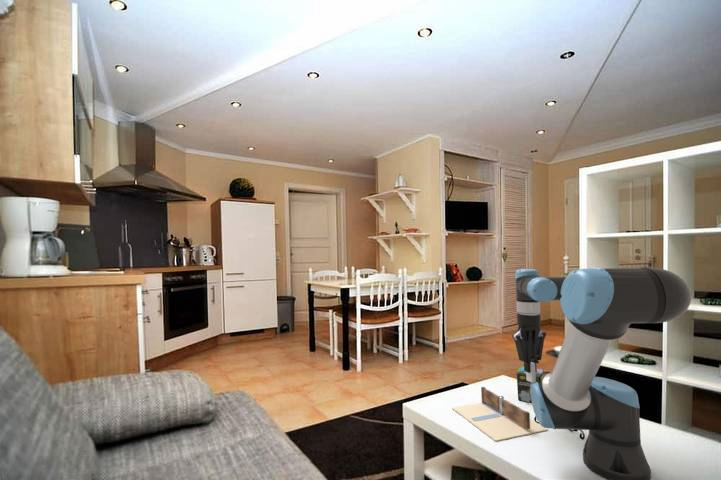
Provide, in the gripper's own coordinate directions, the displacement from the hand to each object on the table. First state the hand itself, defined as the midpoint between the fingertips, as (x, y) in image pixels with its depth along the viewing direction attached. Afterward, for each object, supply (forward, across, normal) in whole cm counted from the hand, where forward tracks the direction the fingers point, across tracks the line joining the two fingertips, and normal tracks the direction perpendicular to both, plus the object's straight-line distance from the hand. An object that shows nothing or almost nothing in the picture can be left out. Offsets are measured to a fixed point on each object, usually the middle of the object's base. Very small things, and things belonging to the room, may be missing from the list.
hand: (531, 381), depth 122 cm
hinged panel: (+13, +6, -1) cm, 15 cm away
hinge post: (+15, +6, -9) cm, 18 cm away
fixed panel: (+15, +6, -15) cm, 22 cm away
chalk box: (+15, -15, -17) cm, 27 cm away
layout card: (+15, +9, -7) cm, 19 cm away
